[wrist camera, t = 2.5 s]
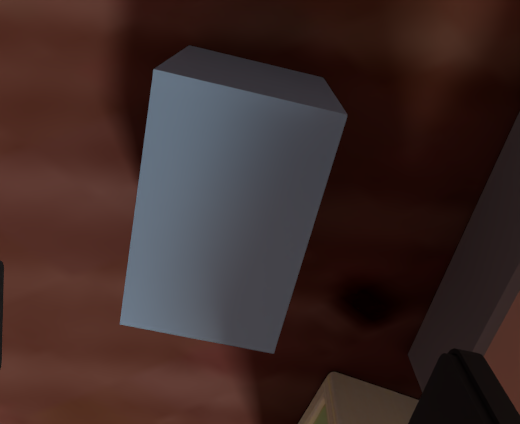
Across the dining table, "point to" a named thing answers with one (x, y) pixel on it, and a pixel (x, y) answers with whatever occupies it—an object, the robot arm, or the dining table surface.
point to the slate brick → (227, 196)
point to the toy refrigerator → (357, 403)
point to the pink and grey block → (482, 283)
